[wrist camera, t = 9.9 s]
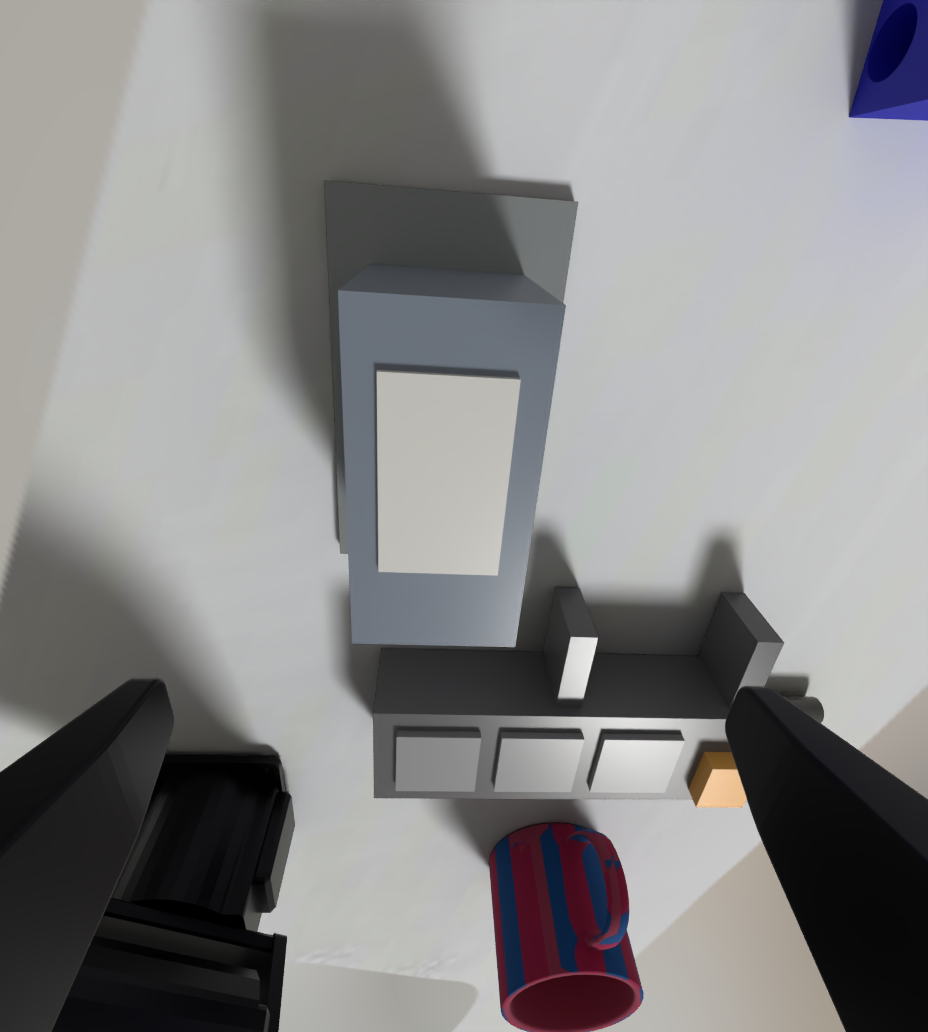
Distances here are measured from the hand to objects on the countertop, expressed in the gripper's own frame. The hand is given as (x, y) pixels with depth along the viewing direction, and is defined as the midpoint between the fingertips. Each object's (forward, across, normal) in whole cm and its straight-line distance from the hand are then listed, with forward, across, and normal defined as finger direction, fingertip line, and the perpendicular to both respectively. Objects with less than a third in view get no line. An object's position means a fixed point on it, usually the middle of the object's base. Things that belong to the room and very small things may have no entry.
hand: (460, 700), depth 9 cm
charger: (+11, 0, -1) cm, 11 cm away
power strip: (+12, -8, +11) cm, 18 cm away
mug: (+12, -8, +24) cm, 28 cm away
